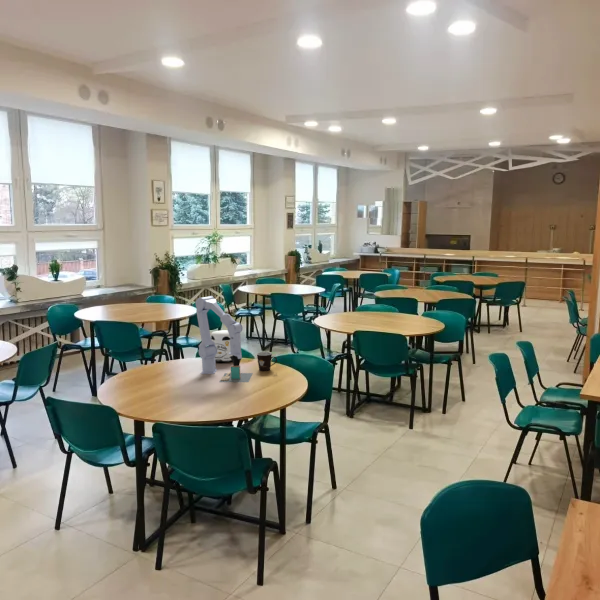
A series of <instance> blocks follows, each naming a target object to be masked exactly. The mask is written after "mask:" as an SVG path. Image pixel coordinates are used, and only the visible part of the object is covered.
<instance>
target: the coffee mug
mask: <svg viewBox="0 0 600 600" xmlns="http://www.w3.org/2000/svg"><path fill="white" fill-rule="evenodd" d="M256 357H257V358H256V359H257V363H258V364H257V365H258V371H259V372H269V371H271V367H272V366H273V365H275V364H276V363H277V361H278V358H277V357H276V356H272V352H270V351H259V352H258V353H256ZM273 358H274V359H275V362H274V363H272V360H273Z"/></svg>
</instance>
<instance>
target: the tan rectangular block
mask: <svg viewBox="0 0 600 600" xmlns="http://www.w3.org/2000/svg"><path fill="white" fill-rule="evenodd" d="M230 373H231V379H240V378H241V374H240V373H241V365H239V366H233V365H230Z"/></svg>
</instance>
